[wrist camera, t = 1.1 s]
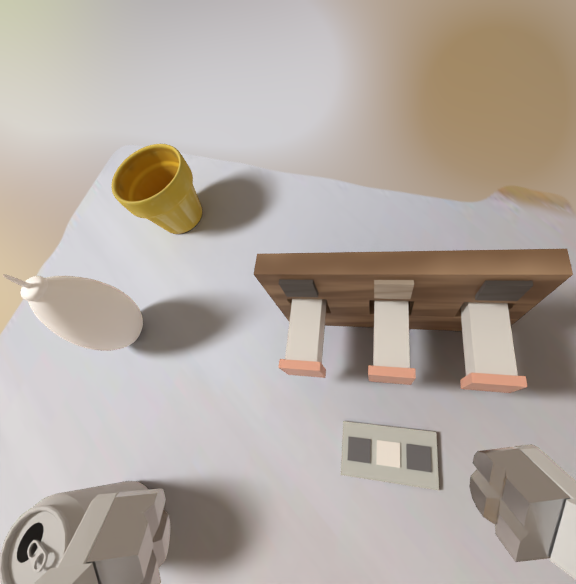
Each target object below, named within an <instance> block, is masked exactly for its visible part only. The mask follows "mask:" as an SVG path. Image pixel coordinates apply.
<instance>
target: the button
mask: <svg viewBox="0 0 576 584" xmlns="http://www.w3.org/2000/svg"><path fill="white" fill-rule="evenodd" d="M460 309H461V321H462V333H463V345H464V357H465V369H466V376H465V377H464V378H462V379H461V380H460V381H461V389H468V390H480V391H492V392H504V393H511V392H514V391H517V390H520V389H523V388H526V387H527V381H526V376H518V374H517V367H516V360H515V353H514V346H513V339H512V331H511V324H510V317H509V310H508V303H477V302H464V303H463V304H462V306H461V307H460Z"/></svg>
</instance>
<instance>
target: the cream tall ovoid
mask: <svg viewBox="0 0 576 584" xmlns="http://www.w3.org/2000/svg"><path fill="white" fill-rule="evenodd" d="M3 276H4V277H6V278H7V279H9V280H11V281H13V282H15V283H17V284H19V285H21V286H22V288H21V296H22V298H23V299H25V300H27V301H28V302H29V305H30V307H31V309H32V311H33V312H34V314H35V315H36V316H37V317H38V319H39V320H40V321H41V322H42V323H43V324H44V325H45V326H46V327H48V328H49V329H50V330H51V331H52V332H54V333H55V334H56V335H58V336H59V337H61V338H63V339H65V340H67V341H69V342H71V343H73V344H75V345H78V346H81V347H84V348H88V349H93V350H100V351H111V350H117V349H121V348H124V347H127V346H129V345H131V344H132V343H134V342H135V341H136V339H137V338H138V337H139V335H140V333H141V330H142V327H143V317H142V314H141V311H140V309H139V307H138V306H137V305H136V303H135V302H134V301H133V300H132V299H131V298H130V297H129V296H128V295H126V294H125V293H123V292H122V291H120V290H119V289H117V288H115V287H113V286H111V285H108V284H105V283H103V282H100V281H96V280H92V279H88V278H82V277H73V276H54V277H47V278H43V277H41V276H34V277H31V278H29V279H28V280H26V281H25V282H24V281H22V280H19V279H17V278H14V277H12V276H8V275H3Z"/></svg>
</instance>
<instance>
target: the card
mask: <svg viewBox="0 0 576 584" xmlns="http://www.w3.org/2000/svg"><path fill="white" fill-rule="evenodd" d="M341 475H344V476H351V477H357V478H363V479H370V480H376V481H382V482H389V483H395V484H401V485H408V486H414V487H420V488H427V489H433V490H439V479H438V458H437V437H436V432H432V431H423V430H415V429H406V428H397V427H389V426H380V425H372V424H363V423H354V422H346V421H343V440H342V460H341Z"/></svg>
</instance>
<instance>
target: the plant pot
mask: <svg viewBox="0 0 576 584" xmlns="http://www.w3.org/2000/svg"><path fill="white" fill-rule="evenodd" d="M192 182H193V176H192V172H191V170H190V168H189V166H188V164H187V163H186V161H185V160H184V158H183V157H182V155H181V154H180V152H179V151H178V150H177V149H176V148H174V147H173V146H170V145H167V144H154V145H150V146H146V147H144V148H141V149H139V150H137V151H136V152H134V153H133V154H131V155H130V156H129V157H128V158H126V159H125V160H124V161H123V162H122V164H121V165H120V166H119V167H118V169H117V171H116V172H115V174H114V177H113V180H112V192H113V195H114V196H115V198H116V199H117V200H118V201H119V202H120V203H121V204H122V205H123V206H124V207H125V208H126V209H127V210H129V211H130V212H131V213H132V214H134V215H135V216H137V217H140V218H147V219H148V220H150V221H152V222H153V223H155V224H157V225H158V226H160V227H162V228H163V229H165V230H167V231H168V232H170V233H173V234H181V233H185V232H187V231H189V230H191V229H192V228H194V227H195V226H196V225H197V224H198V222H199V221H200V219H201V216H202V207H201V204H200V202H199V199H198V197H197V194H196V191H195V189H194V186H193V184H192Z"/></svg>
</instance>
